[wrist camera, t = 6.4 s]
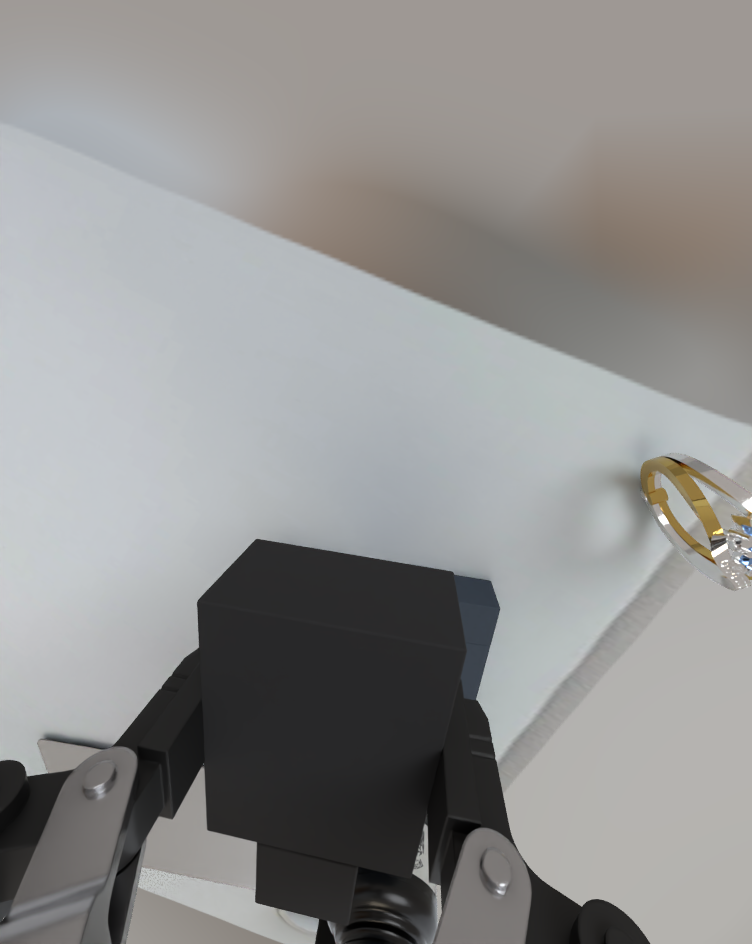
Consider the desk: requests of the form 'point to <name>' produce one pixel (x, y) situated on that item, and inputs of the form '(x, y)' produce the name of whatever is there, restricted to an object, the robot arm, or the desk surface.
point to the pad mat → (476, 628)
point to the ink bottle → (392, 906)
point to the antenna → (177, 831)
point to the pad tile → (325, 715)
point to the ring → (702, 517)
